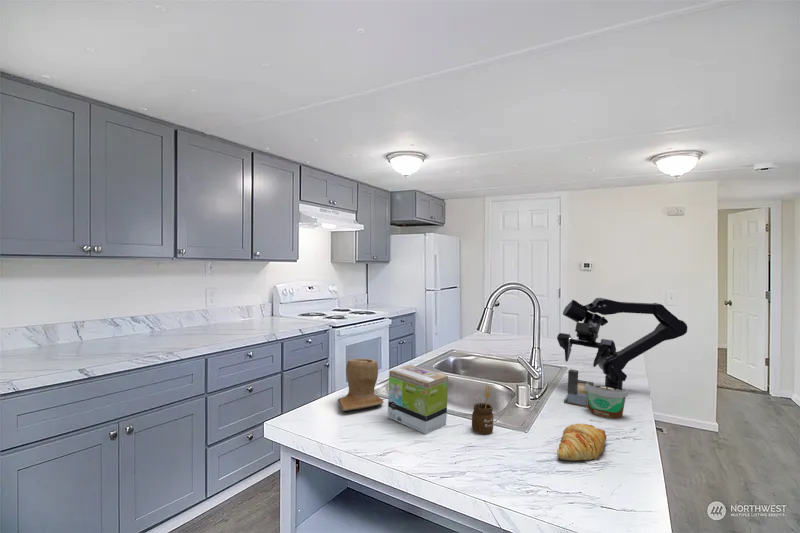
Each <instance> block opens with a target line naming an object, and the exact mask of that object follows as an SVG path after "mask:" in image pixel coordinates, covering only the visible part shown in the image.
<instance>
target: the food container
mask: <svg viewBox="0 0 800 533" xmlns="http://www.w3.org/2000/svg"><path fill="white" fill-rule="evenodd" d="M585 389H586V390H587V396H588V408H587V410H588V411H589V413H591V414H592V415H595V416H597V417H600V418H603V419H604V418H605V419H611V420H613V419H616V420H617V419H620V418H622V417H623V415H624V414H623V413H624V408H625V403H626V398H627V397H629V390H628V387H626V388H625V389H622V390H619V389H614V388H611V387H607V386H605V385H599V386H598V385H589V384H588V383H587V384H585Z"/></svg>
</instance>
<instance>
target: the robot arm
mask: <svg viewBox="0 0 800 533" xmlns="http://www.w3.org/2000/svg"><path fill="white" fill-rule="evenodd" d="M620 313H621V314H622V313H625V314H626V313H627V314H641V315H642V314H643V315H644V314H645V315H653V316H654V317H655V319H656V320H657V321H658V324H657V325H656V326H655V328H654V330H653V331H651V332H649V333H648V334H646V335H644V336H643V337H641V338H639V339H637V340H636V341H634V342H633V343H630V344H629V345H627V346H626V347H624V348H622V349H621V350H618V351H617V347H616V344H615V341H614V340H613V339H605V338H602V339H600V342H599V341H597V339H598V338H599V332H600V328H601V327H603V326H605V325H606V324H608V323H609V322H608V319H606V317H605V316H607V315H608V316H609V315H616V314H620ZM562 315H563V316H565V317H566V318H568V319H570V320H572V321H573V322H575V323H576V324H575V330H574V331H575V332H576V334H575V335H576V337H577V338H572V336H571V334H570V333H564V332H560V333H558V335H557V336H556V339H557V341H558V345H559V347H561V348H562V349H563V350H564V357H565V358H564V360H565V362H566V363H567V362H568V361H569V360H570V357H571V356H570V355H571V353H572V347H573V345H576V346H581V347H582V346H583V347H586V348H591V349H592V348H593V349H597V351H596V355H595V357H594V360H593V362H592V364H593V368H595V367H597V366H598V368H600V369H601V370H602V373H603V374H604V375H605V376H604V378H605V379H604V386H607V387H611V388H614V389H619V390H623V382H625V381H626V380H627V377H628V375H627V374H626V373H625V371H623V370H624V369H625V367H626V366H627V364H628V363H629V362H630V361H632V360H633V359H635V358H637V357H639V356H640V355H643V354H644V353H646V352H648V351H649V350H651V349H652V348H654V347H656V346H657V345H659V344H661V343H663V342H665V341H670V340H674V339H677V338H680V337H683V336H685V335H686V334H687V333H688V324H687V323H686V322H685V321H683V320H682V319H679V318H678V317H677V316H676V315H674V314H673V313H672V312H670V310H668V309H667V308H666V306H664V305H663V304H662V303H657V302H651V303H647V302H632V301H631V302H630V301H629V302H627V301H618V300H614V299H613V300H612V299H609V298H604V297H597V298H595V299H593V300H592V302H590V303H588V304H586V305H583V304H581V303H579V302H578V301H577V300H575V299H571V301H570V302H569V303H568V304H567V305H566V306H565V308H564V309H563V311H562ZM601 315H602V316H601Z"/></svg>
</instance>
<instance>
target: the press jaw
mask: <svg viewBox="0 0 800 533" xmlns="http://www.w3.org/2000/svg"><path fill="white" fill-rule="evenodd" d="M578 380H579V370H576V369H572V368H570V369H569V370H568V375H567V394H568V402H569V403H574V404H579V405H584V406H586V405H587V395H586V394H581V393H577V390H578Z"/></svg>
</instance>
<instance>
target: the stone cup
mask: <svg viewBox="0 0 800 533" xmlns="http://www.w3.org/2000/svg"><path fill="white" fill-rule="evenodd" d="M345 372H346V373H345V374H346V379H347V384H348V393H347V394H346V395H345V396H342V397H339V398H338V399H337V402H338V406H339V409H340V411H342V412H347V411H352V410H353V411H354V410H360V409H366V408H370V407H371V408H372V407H374V406H380V405H382V404H384V399H382V398H381V397H380V396H378V395H377V394H375V387H376V383H377V381H378V376H379V364H378V361H376V360H375V359H371V358H352V359H348V360H347V363H346V368H345Z"/></svg>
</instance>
